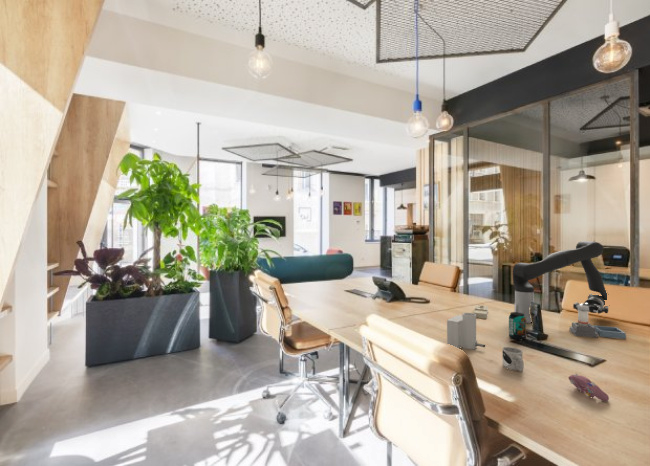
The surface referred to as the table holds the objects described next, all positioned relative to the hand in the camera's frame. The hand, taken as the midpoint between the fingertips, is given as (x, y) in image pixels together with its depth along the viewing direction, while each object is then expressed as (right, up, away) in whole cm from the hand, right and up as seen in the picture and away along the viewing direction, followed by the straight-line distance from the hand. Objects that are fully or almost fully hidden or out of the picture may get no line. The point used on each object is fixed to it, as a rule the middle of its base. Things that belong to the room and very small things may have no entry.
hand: (588, 310), depth 166 cm
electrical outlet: (-41, -11, +31) cm, 53 cm away
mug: (-66, -12, -45) cm, 81 cm away
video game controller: (-54, -12, -64) cm, 85 cm away
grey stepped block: (-73, -11, -23) cm, 77 cm away
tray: (+3, -10, -9) cm, 14 cm away
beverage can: (-44, -11, -12) cm, 47 cm away
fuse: (-8, -8, -7) cm, 14 cm away
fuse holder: (-8, -10, -7) cm, 15 cm away
